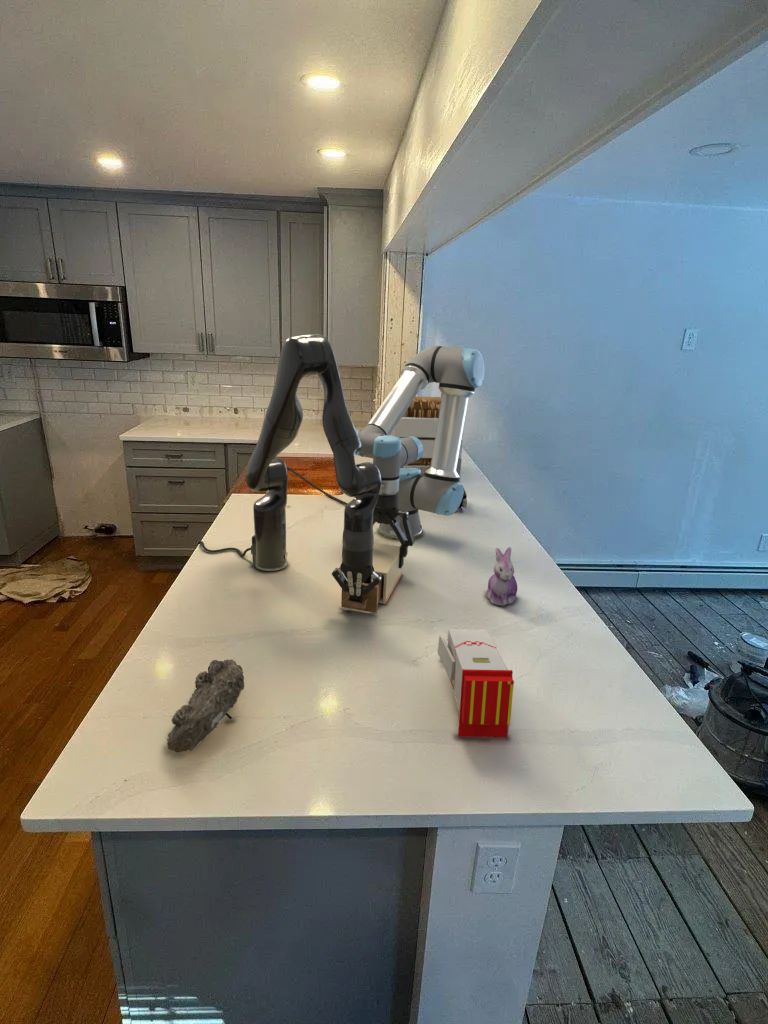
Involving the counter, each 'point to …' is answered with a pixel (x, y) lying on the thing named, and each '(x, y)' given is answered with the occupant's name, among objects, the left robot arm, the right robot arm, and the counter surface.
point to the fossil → (206, 705)
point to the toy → (478, 682)
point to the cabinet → (387, 567)
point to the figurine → (502, 580)
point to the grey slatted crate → (423, 427)
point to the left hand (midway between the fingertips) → (355, 606)
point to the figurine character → (463, 502)
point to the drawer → (365, 598)
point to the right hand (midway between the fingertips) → (381, 563)
